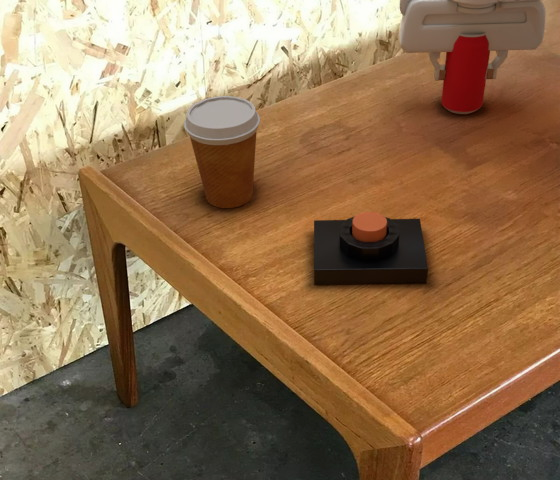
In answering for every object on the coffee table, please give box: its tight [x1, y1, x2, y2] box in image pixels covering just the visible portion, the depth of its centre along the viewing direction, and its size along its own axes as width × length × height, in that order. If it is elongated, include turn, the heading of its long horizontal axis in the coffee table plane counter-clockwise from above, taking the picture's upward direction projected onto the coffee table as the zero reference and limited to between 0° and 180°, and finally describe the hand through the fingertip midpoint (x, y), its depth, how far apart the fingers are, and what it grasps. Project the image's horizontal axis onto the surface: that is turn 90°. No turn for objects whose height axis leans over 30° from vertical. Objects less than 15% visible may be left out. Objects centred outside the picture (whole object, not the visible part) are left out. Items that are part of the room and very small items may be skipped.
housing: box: [313, 215, 429, 286], centre depth 94 cm, size 13×10×4 cm
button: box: [352, 211, 387, 242], centre depth 92 cm, size 4×4×2 cm
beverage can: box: [441, 33, 491, 115], centre depth 117 cm, size 6×6×12 cm
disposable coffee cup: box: [183, 95, 261, 209], centre depth 102 cm, size 10×10×12 cm
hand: (464, 78), depth 118 cm, fingers closed on beverage can, 6 cm apart
